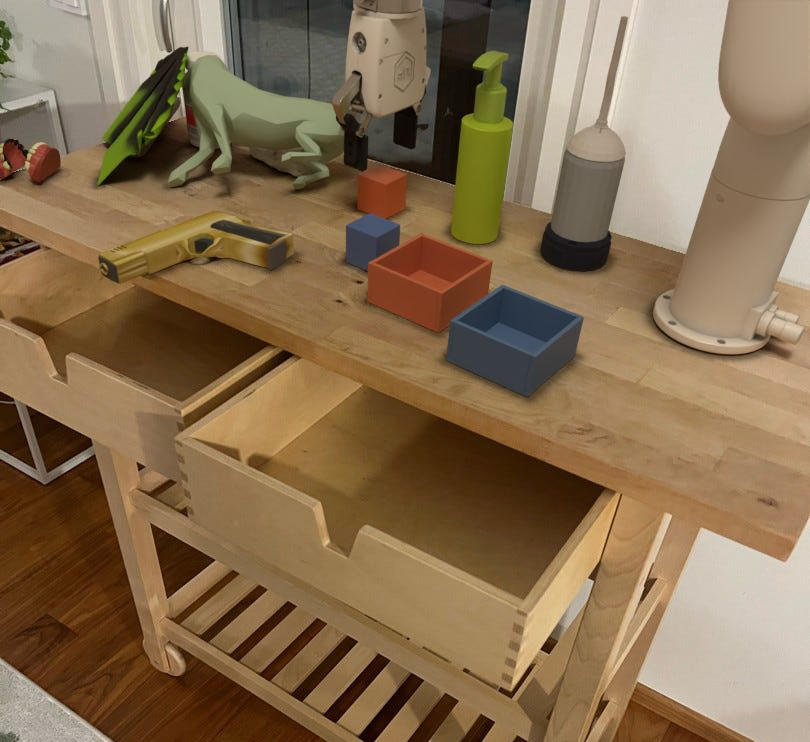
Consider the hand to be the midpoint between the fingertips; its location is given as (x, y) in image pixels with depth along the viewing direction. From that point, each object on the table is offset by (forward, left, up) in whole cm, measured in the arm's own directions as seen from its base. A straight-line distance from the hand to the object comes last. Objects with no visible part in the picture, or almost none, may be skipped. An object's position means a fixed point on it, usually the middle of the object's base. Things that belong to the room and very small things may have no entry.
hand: (380, 156), depth 102 cm
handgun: (-1, +26, -5) cm, 27 cm away
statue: (+13, +6, -6) cm, 15 cm away
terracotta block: (0, 0, -6) cm, 6 cm away
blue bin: (-31, +18, -6) cm, 37 cm away
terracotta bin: (-18, +15, -6) cm, 24 cm away
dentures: (+35, +22, -4) cm, 42 cm away
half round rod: (+39, +3, -5) cm, 40 cm away
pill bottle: (+31, 0, -6) cm, 31 cm away
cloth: (+32, +11, 0) cm, 34 cm away
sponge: (+18, -2, -6) cm, 19 cm away
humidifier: (-25, -6, -7) cm, 27 cm away
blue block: (-8, +12, -6) cm, 16 cm away
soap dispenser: (-13, -2, -7) cm, 15 cm away
